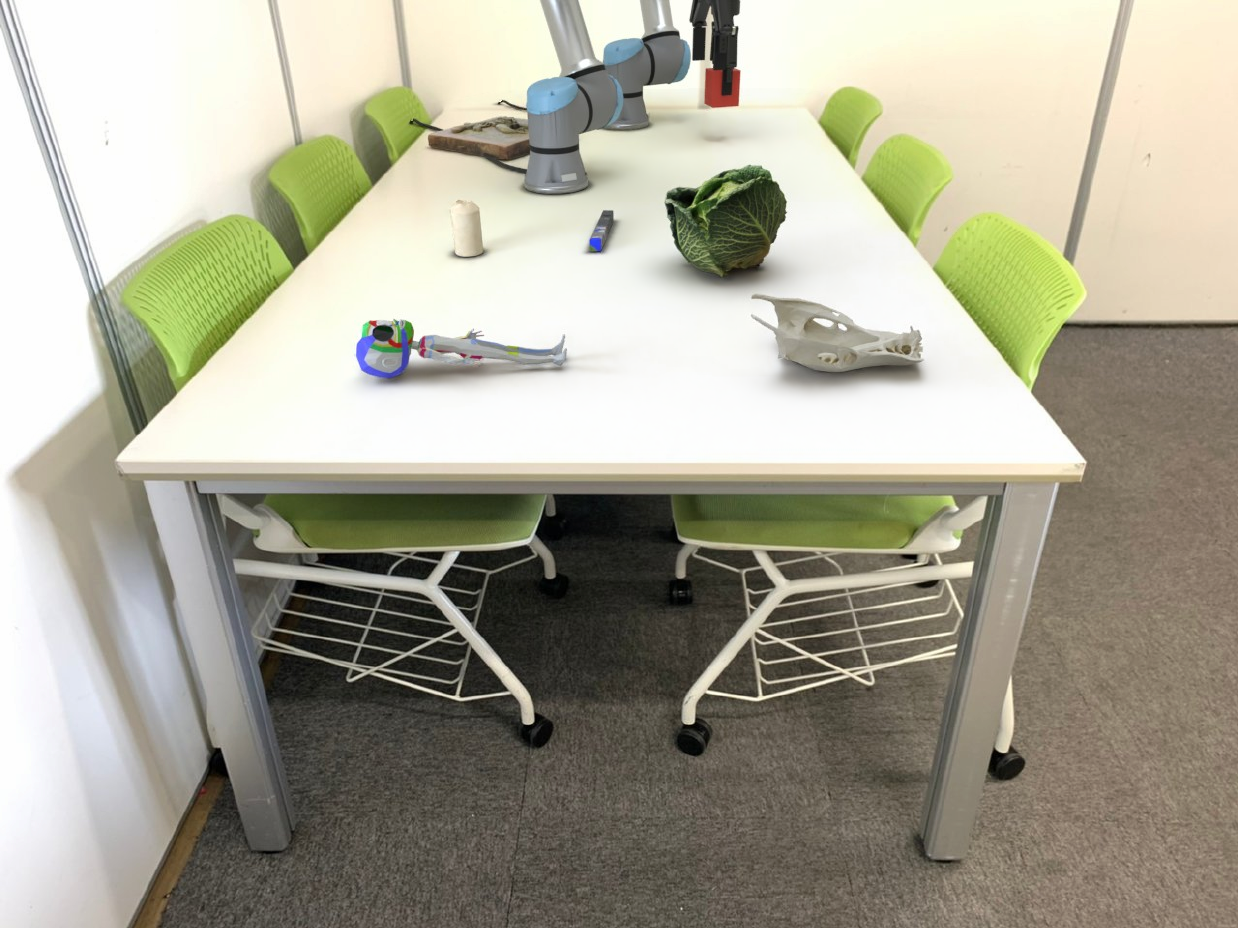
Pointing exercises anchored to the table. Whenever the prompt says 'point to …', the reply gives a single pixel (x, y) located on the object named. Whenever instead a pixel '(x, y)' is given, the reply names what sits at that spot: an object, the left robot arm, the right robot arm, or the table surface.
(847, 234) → the table surface
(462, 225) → the candle
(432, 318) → the table surface
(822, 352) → the anatomical model
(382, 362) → the toy
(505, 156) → the plaque
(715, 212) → the vegetable
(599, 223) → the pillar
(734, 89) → the brick
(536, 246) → the table surface
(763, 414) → the table surface
